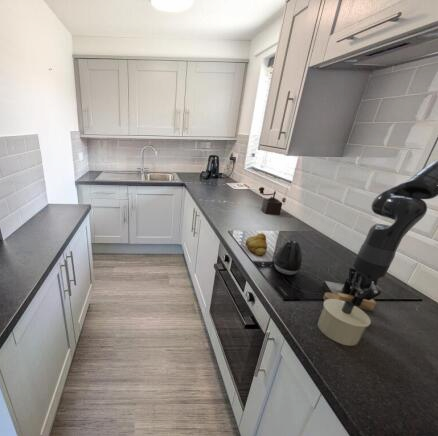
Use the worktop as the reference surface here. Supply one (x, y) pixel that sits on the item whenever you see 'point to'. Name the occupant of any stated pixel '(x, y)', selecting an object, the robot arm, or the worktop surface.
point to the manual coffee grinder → (270, 204)
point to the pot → (339, 330)
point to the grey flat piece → (337, 290)
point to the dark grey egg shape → (288, 258)
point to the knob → (346, 287)
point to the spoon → (344, 297)
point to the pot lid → (346, 313)
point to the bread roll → (257, 244)
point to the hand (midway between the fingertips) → (353, 302)
